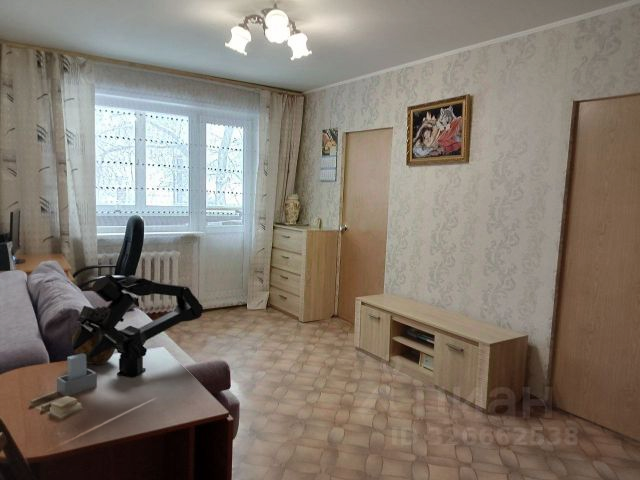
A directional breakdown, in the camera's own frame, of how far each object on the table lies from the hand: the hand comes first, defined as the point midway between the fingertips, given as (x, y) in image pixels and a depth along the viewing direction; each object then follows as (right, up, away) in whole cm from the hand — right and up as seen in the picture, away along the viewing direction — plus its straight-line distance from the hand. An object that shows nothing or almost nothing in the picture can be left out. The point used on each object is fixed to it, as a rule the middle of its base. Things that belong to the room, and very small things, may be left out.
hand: (80, 353), depth 137 cm
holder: (-1, -11, 0) cm, 11 cm away
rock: (-6, -9, +20) cm, 22 cm away
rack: (-1, -12, -11) cm, 16 cm away
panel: (-1, -10, 0) cm, 10 cm away
